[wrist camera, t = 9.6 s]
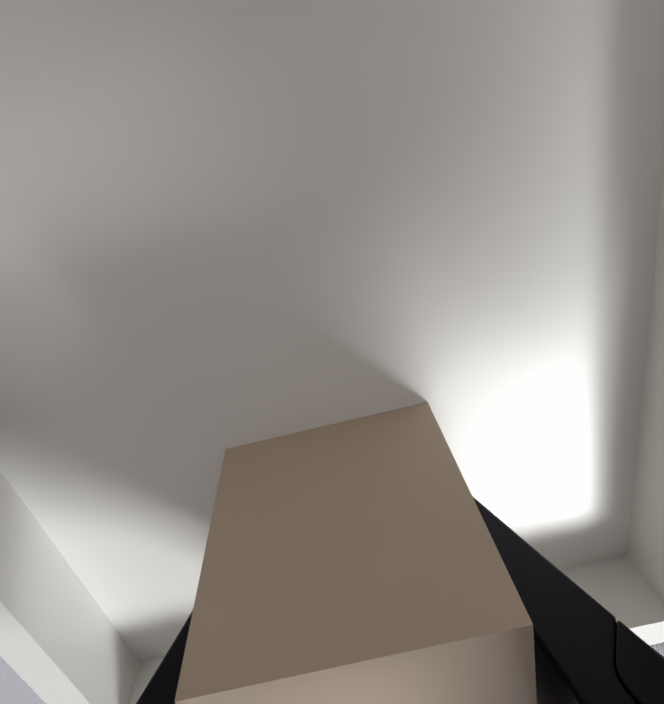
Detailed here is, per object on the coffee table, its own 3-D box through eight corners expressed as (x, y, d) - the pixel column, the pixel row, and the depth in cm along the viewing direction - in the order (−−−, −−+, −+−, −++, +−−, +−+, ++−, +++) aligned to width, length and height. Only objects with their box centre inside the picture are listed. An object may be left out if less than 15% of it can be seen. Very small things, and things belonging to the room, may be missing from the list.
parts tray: (738, -307, 5) (987, -547, 4) (640, 550, 12) (707, 633, 10) (-361, 0, 6) (-678, -56, 4) (130, 662, 13) (101, 761, 11)
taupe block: (427, 401, 9) (533, 624, 5) (452, 561, 11) (541, 806, 7) (225, 449, 9) (174, 701, 5) (288, 597, 11) (286, 857, 7)
